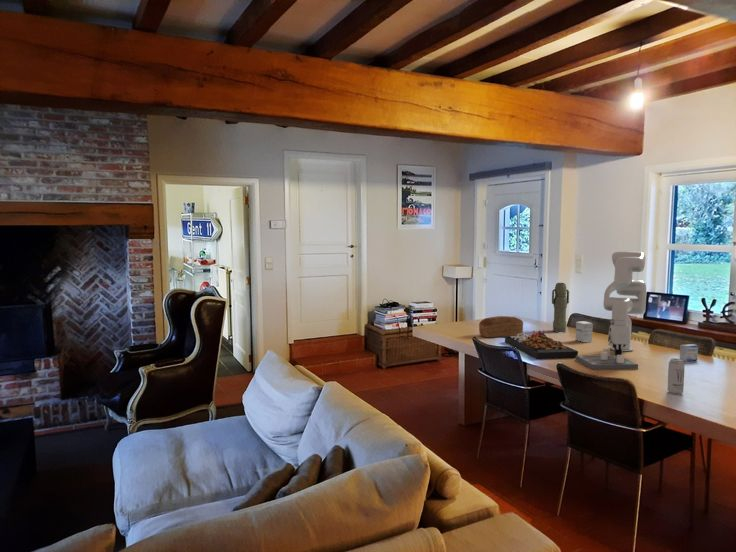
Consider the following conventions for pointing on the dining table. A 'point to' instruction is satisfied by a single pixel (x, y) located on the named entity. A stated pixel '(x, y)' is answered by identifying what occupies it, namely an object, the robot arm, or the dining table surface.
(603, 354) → the handle middle
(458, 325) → the dining table surface
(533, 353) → the food platter
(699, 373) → the dining table surface
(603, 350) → the handle
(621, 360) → the handle
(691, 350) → the medicine box
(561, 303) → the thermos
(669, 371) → the energy drink can
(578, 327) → the white ridged canister
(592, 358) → the switch board
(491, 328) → the bread
